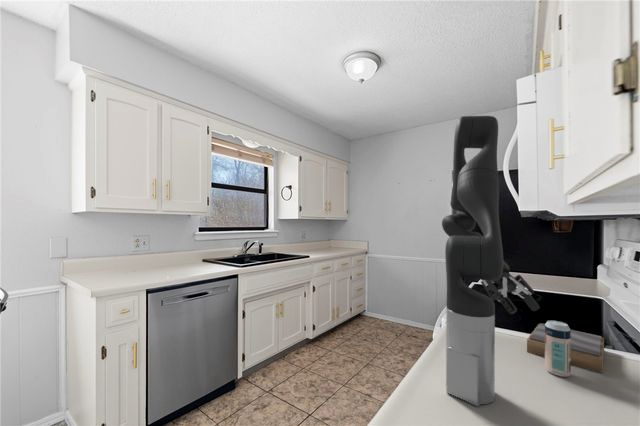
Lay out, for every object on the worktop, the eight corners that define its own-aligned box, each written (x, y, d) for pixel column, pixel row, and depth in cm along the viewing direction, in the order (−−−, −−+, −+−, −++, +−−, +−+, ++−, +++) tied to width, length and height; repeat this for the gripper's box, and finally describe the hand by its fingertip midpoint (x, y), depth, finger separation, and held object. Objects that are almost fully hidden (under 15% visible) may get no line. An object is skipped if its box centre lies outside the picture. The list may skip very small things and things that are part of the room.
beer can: (560, 368, 71) (560, 320, 71) (576, 379, 66) (575, 327, 67) (540, 367, 72) (540, 319, 72) (554, 377, 67) (553, 326, 67)
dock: (602, 373, 69) (602, 356, 69) (526, 351, 80) (526, 337, 80) (604, 350, 82) (603, 336, 82) (538, 334, 92) (538, 322, 92)
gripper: (477, 255, 83) (516, 306, 72) (513, 253, 87) (554, 301, 76) (463, 270, 88) (497, 320, 77) (497, 268, 92) (533, 315, 81)
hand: (525, 311), depth 76 cm, fingers open, 8 cm apart
